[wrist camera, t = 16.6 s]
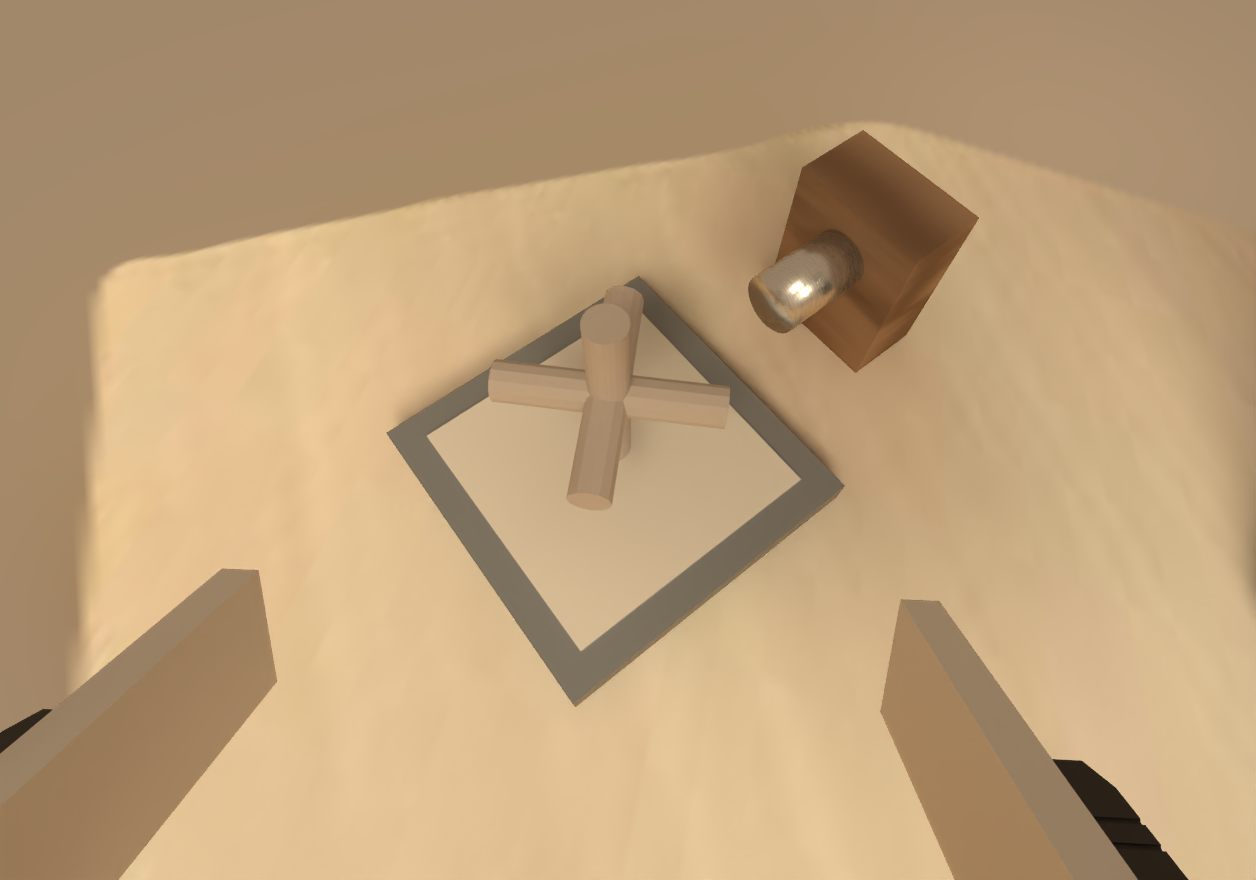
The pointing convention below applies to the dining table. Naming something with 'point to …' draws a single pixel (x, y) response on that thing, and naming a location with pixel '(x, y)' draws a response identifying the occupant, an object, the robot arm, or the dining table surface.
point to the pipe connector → (607, 395)
